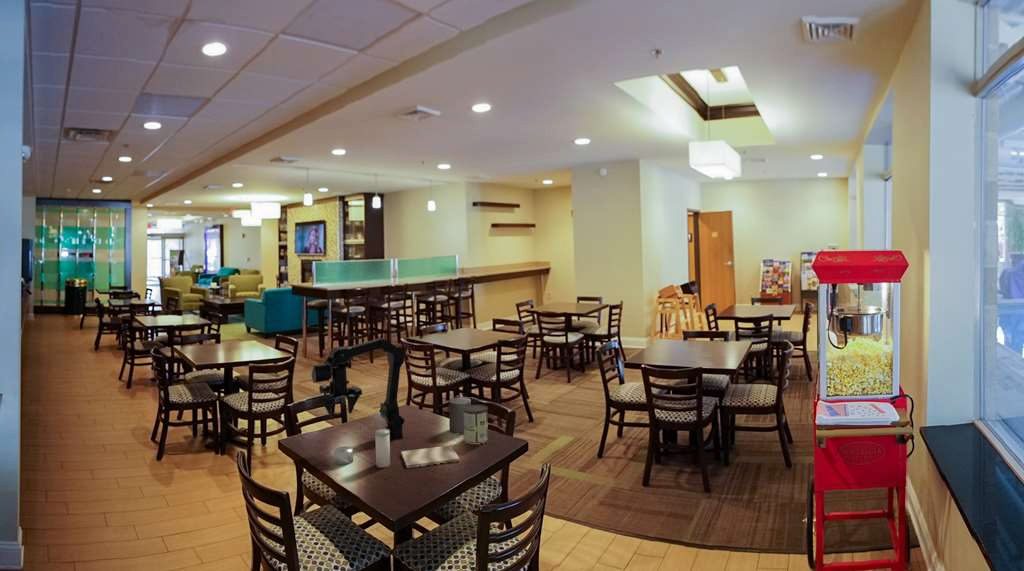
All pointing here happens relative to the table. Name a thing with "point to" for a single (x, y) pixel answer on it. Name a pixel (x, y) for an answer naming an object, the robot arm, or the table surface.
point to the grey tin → (343, 455)
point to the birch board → (429, 456)
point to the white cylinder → (382, 447)
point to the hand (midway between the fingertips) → (341, 416)
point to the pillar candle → (457, 414)
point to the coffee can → (475, 424)
